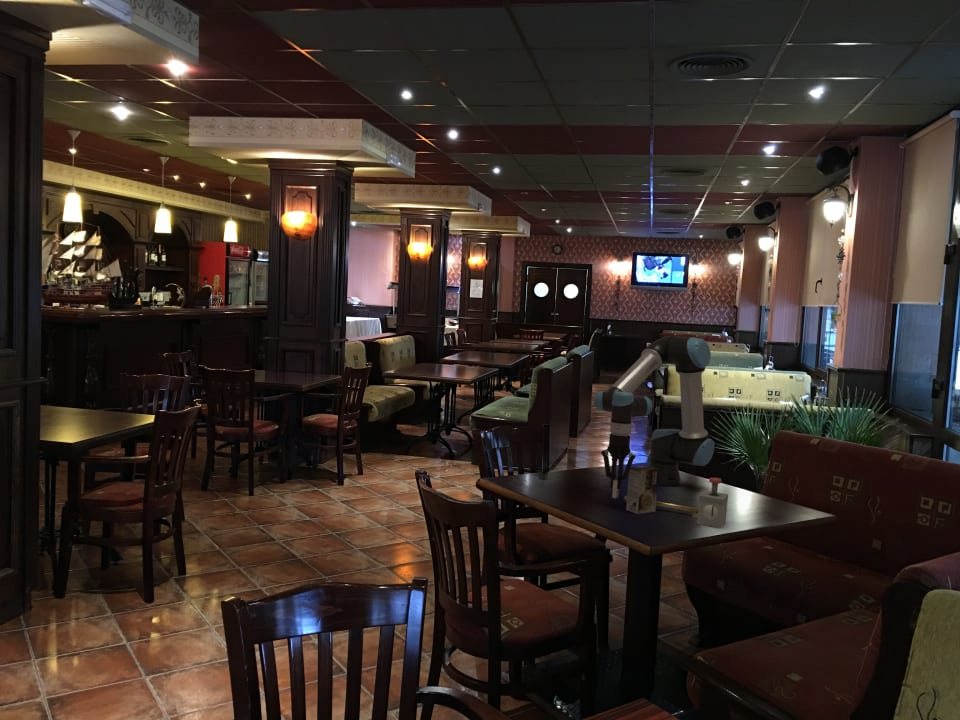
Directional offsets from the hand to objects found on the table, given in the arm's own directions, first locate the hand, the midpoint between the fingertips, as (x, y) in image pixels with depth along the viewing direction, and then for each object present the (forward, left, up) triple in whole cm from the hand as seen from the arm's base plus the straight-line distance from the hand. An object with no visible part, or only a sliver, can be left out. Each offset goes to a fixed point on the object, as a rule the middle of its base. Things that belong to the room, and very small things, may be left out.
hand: (615, 497), depth 279 cm
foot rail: (-6, +17, -3) cm, 18 cm away
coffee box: (0, +10, -4) cm, 10 cm away
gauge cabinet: (-1, +35, -3) cm, 35 cm away
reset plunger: (-1, +35, +7) cm, 36 cm away
